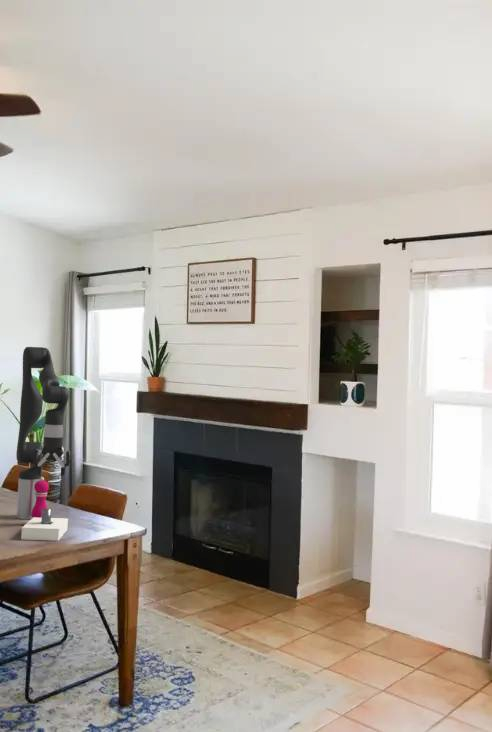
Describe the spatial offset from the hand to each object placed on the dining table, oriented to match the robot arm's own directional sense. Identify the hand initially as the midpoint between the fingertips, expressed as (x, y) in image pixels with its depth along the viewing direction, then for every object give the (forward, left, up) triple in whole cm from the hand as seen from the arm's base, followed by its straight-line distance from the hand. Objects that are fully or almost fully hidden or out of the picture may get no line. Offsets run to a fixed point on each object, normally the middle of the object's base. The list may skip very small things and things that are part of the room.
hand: (51, 476), depth 287 cm
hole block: (+2, -1, -23) cm, 23 cm away
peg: (+2, -1, -23) cm, 23 cm away
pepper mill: (-16, -7, -23) cm, 29 cm away
